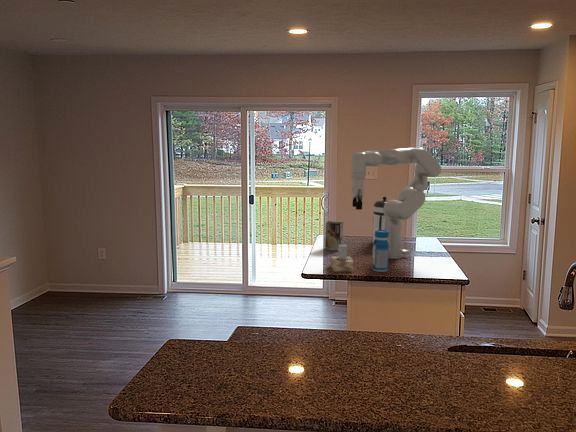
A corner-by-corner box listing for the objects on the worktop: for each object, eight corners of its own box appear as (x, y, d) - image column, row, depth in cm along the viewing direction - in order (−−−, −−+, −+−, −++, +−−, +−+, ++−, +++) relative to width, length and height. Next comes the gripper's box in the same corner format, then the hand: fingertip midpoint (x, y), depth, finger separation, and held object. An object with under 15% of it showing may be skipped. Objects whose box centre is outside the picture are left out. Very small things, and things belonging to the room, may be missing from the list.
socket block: (349, 266, 260) (350, 256, 260) (353, 271, 251) (353, 261, 250) (330, 266, 260) (330, 256, 259) (333, 271, 250) (333, 261, 249)
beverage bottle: (380, 273, 248) (382, 233, 245) (367, 269, 255) (369, 230, 252) (392, 270, 253) (394, 231, 250) (379, 266, 260) (381, 228, 257)
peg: (337, 267, 257) (338, 244, 255) (345, 267, 257) (346, 244, 255) (338, 269, 253) (339, 246, 251) (346, 269, 253) (347, 246, 251)
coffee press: (398, 244, 314) (401, 196, 309) (389, 248, 301) (391, 198, 296) (372, 240, 323) (375, 194, 318) (362, 245, 310) (364, 196, 305)
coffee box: (342, 248, 299) (343, 222, 296) (339, 251, 293) (340, 223, 290) (328, 247, 302) (328, 220, 300) (324, 249, 296) (325, 222, 294)
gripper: (348, 174, 274) (347, 205, 277) (354, 177, 257) (353, 210, 260) (362, 174, 275) (361, 205, 278) (368, 177, 258) (367, 210, 261)
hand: (357, 208), depth 269 cm, fingers open, 9 cm apart
